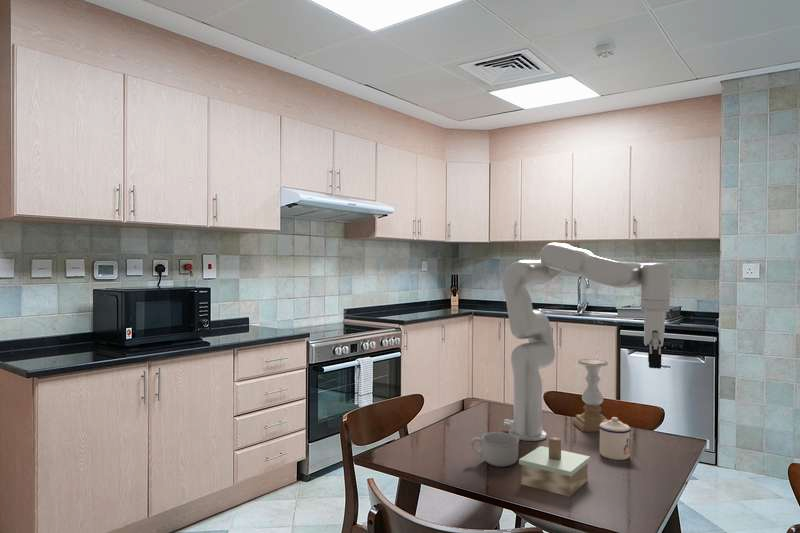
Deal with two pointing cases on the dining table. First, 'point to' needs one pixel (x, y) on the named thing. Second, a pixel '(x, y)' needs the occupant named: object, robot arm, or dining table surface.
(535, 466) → the lid
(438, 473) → the dining table surface
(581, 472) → the box
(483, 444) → the teacup
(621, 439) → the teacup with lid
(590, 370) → the candle holder
